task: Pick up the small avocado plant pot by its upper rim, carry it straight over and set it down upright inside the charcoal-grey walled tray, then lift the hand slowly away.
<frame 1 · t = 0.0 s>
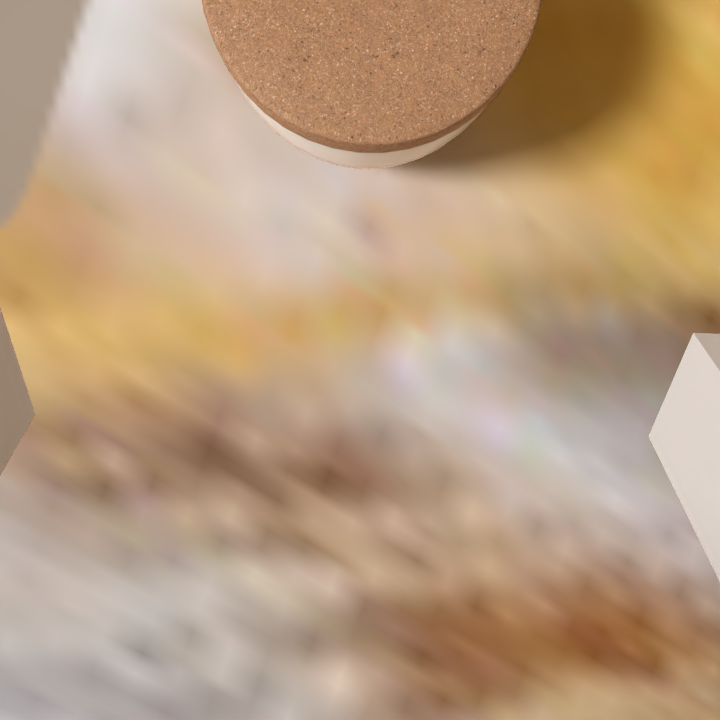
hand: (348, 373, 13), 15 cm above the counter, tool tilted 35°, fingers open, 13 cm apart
lidded jar: (363, 73, 28), on the counter
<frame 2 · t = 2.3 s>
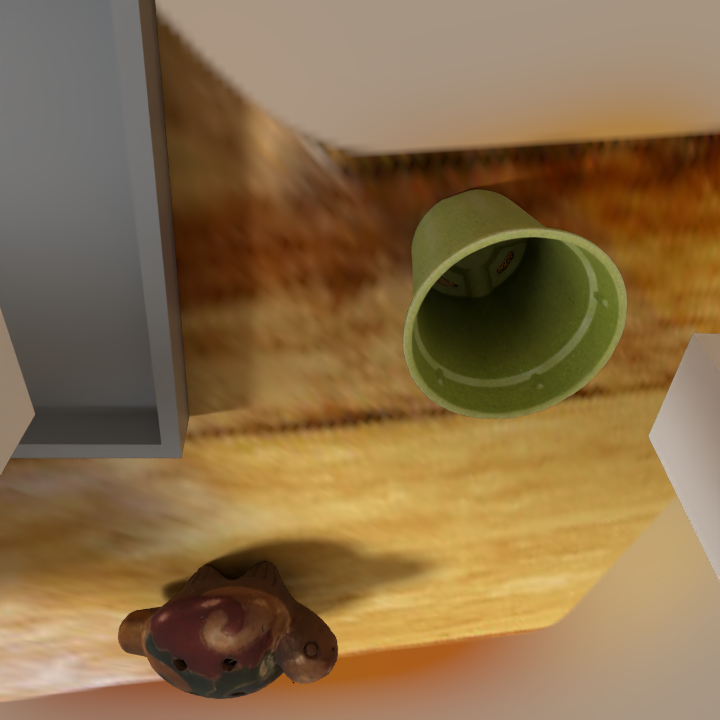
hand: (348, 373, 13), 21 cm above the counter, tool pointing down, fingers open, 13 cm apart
plant pot: (468, 240, 35), on the counter
decorative turtle: (232, 584, 50), on the counter
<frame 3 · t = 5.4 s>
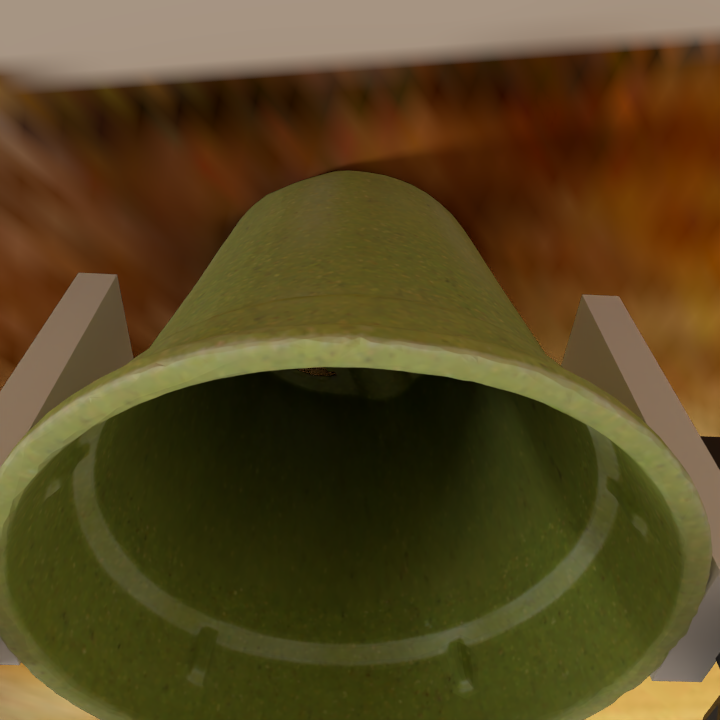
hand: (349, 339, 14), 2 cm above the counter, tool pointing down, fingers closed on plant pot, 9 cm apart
plant pot: (350, 283, 16), on the counter, touching gripper
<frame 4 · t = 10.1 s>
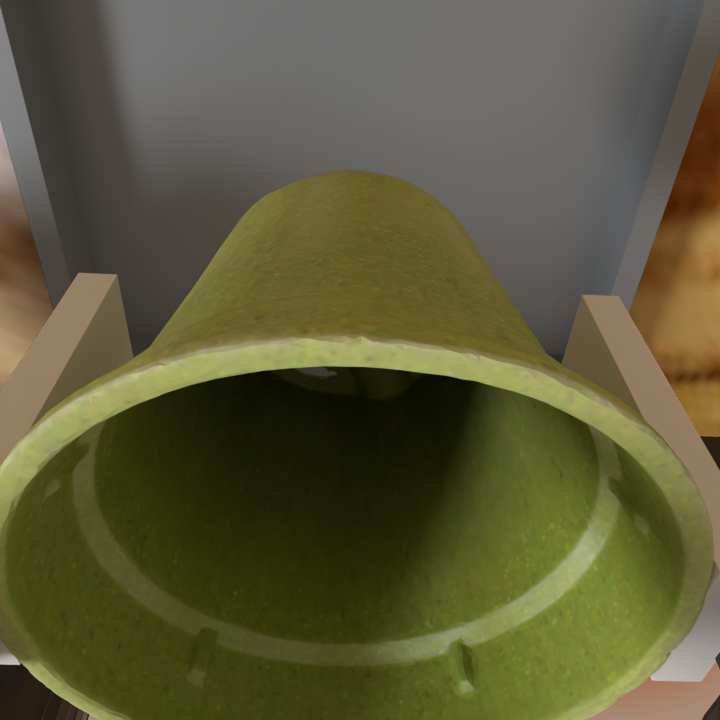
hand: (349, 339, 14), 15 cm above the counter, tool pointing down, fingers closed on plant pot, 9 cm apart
walled tray: (348, 107, 26), on the counter
plant pot: (350, 283, 16), point 13 cm above the counter, touching gripper
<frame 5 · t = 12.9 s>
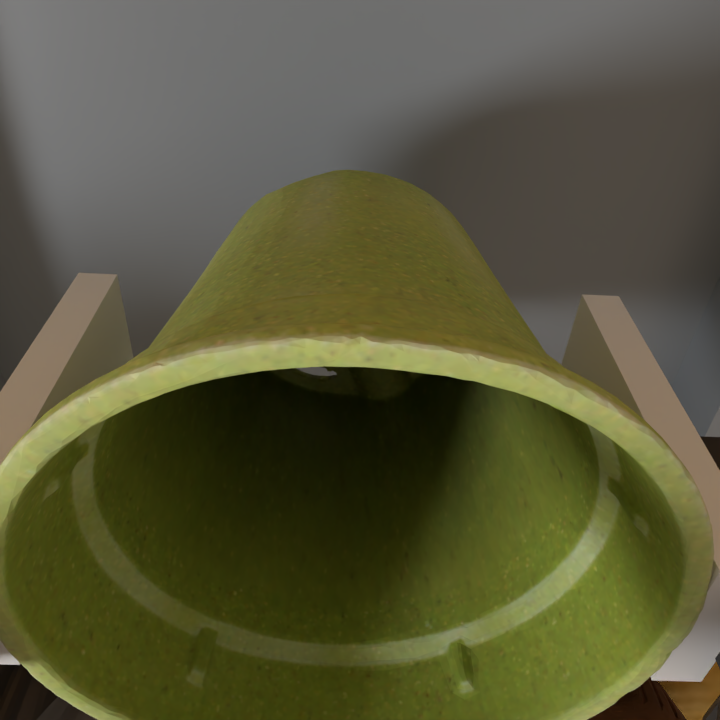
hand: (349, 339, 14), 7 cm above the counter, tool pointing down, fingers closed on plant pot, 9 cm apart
walled tray: (347, 209, 19), on the counter
plant pot: (350, 283, 16), point 4 cm above the counter, touching gripper
decorative turtle: (580, 693, 37), on the counter
when the fingers open (3 cm above the counter, at t = 15.0 s): plant pot stays where it is, resting on walled tray.
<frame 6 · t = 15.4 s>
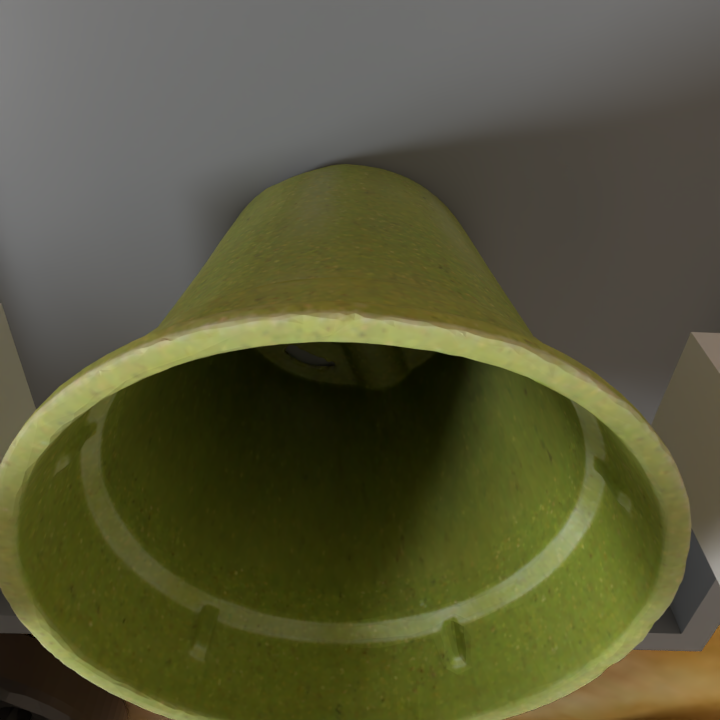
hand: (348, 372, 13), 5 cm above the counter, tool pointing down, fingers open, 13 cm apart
walled tray: (351, 257, 17), on the counter
plant pot: (348, 275, 16), point 1 cm above the counter, touching walled tray
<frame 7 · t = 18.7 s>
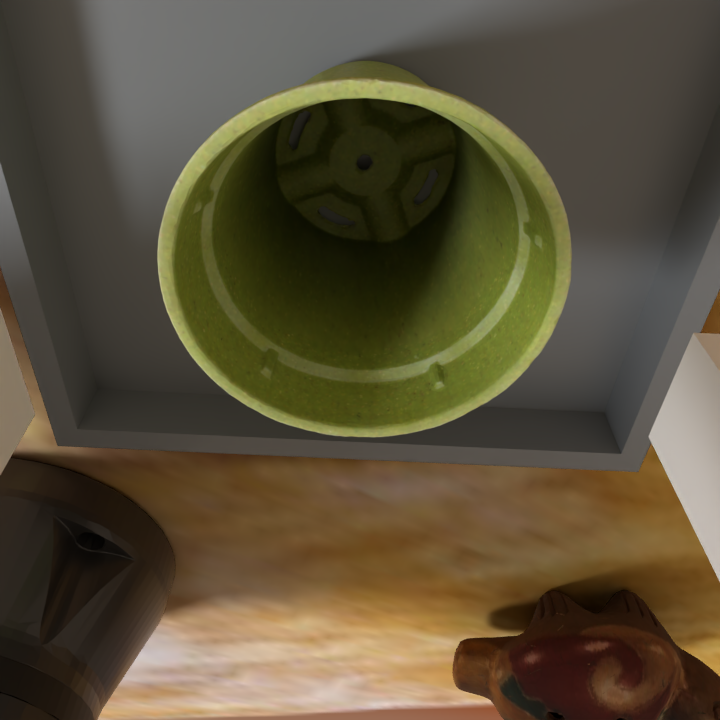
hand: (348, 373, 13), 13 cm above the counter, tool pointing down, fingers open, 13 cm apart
walled tray: (367, 141, 23), on the counter
plant pot: (366, 151, 22), point 1 cm above the counter, touching walled tray
decorative turtle: (570, 612, 41), on the counter
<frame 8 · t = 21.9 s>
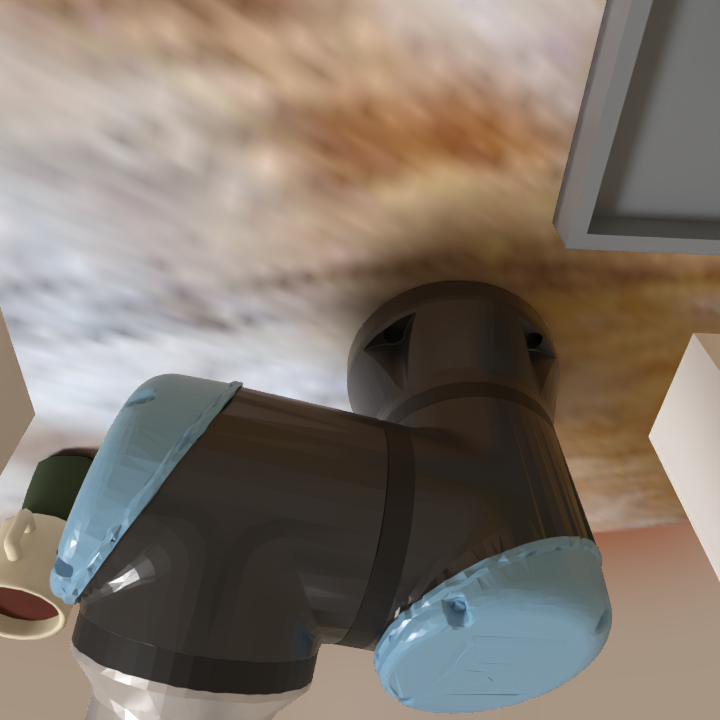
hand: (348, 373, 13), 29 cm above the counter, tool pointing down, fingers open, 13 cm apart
character mug: (77, 472, 57), on the counter
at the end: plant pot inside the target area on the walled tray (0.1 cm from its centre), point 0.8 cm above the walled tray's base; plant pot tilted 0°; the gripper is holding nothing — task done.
